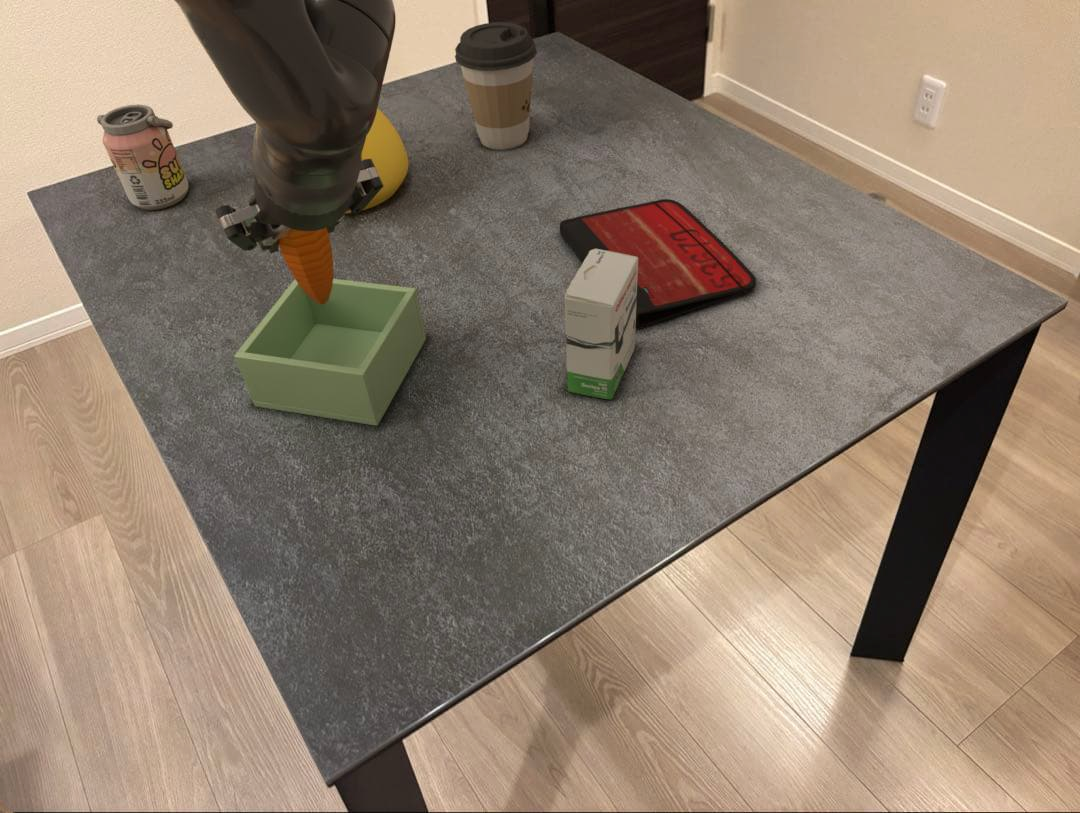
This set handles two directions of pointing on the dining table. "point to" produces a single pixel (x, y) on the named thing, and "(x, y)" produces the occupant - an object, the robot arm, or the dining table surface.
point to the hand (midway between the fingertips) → (297, 232)
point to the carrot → (310, 262)
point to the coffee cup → (498, 81)
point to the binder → (663, 256)
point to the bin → (334, 351)
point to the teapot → (385, 157)
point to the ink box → (600, 322)
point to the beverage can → (144, 156)
